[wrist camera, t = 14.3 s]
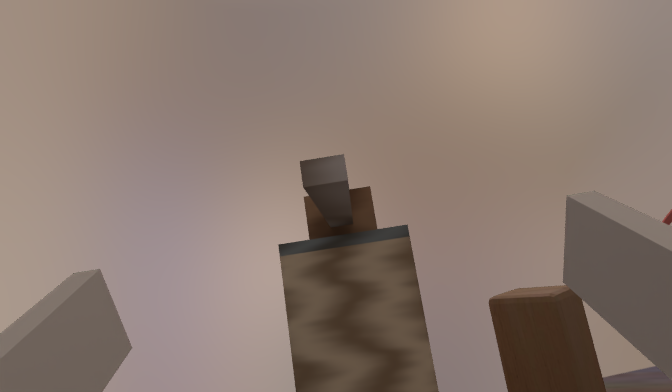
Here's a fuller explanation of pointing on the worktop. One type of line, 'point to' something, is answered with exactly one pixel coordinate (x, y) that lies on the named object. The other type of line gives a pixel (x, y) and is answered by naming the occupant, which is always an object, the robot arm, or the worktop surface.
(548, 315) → the wooden block
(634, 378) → the worktop surface
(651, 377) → the worktop surface
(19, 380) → the robot arm
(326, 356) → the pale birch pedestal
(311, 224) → the walnut pull block
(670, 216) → the red flower sprig
